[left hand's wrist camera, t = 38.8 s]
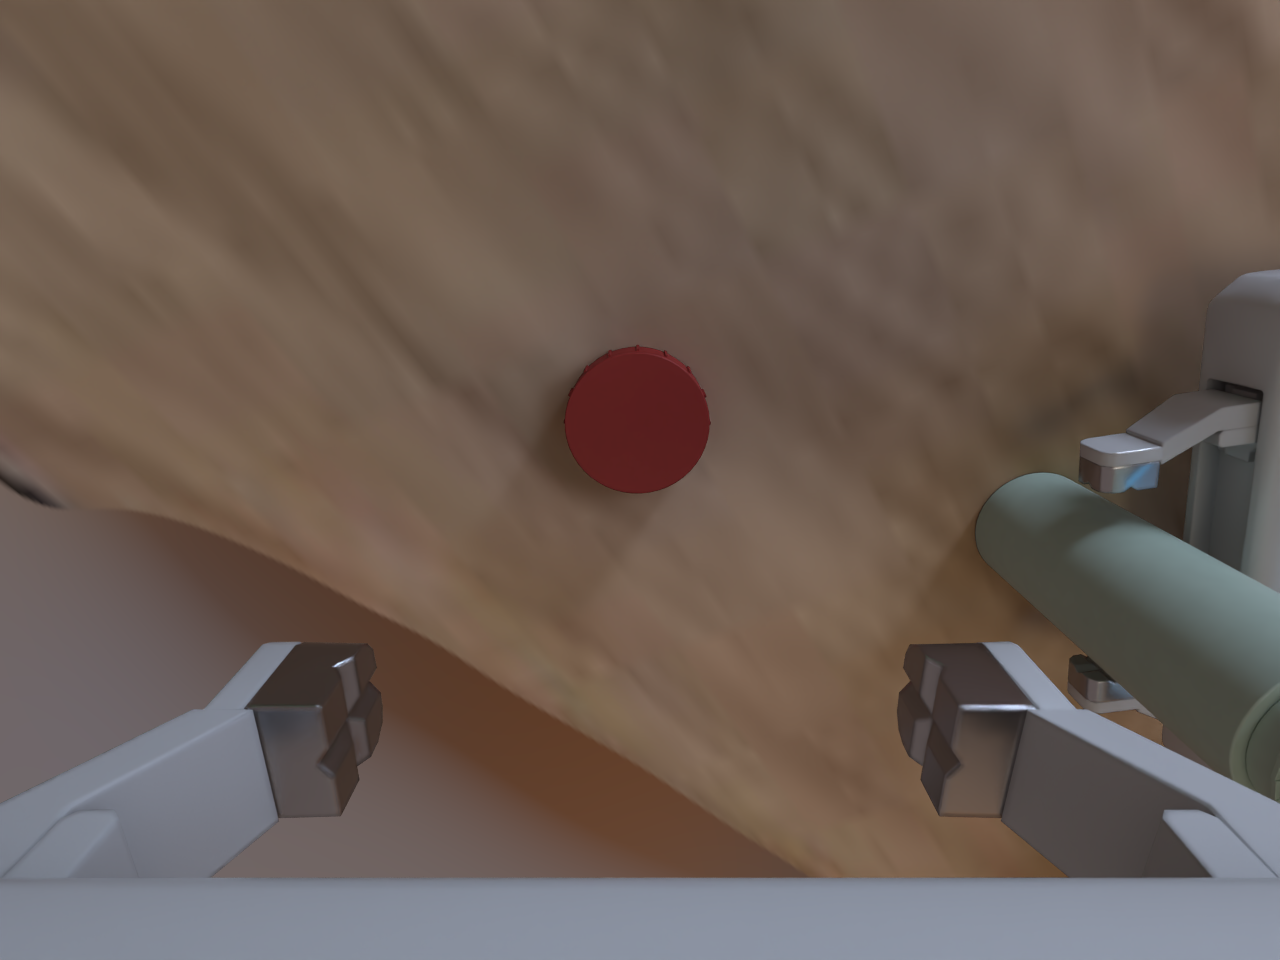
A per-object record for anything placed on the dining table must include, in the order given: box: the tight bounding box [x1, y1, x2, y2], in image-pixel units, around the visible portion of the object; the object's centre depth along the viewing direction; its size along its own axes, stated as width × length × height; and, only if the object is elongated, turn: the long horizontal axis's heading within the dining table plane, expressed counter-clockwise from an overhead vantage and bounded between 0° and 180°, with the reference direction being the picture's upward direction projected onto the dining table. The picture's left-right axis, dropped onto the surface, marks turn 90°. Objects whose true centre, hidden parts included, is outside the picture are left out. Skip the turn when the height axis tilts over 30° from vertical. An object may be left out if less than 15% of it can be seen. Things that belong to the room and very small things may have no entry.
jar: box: [975, 473, 1280, 803], centre depth 23 cm, size 5×5×15 cm
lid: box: [564, 345, 711, 493], centre depth 28 cm, size 6×6×2 cm
